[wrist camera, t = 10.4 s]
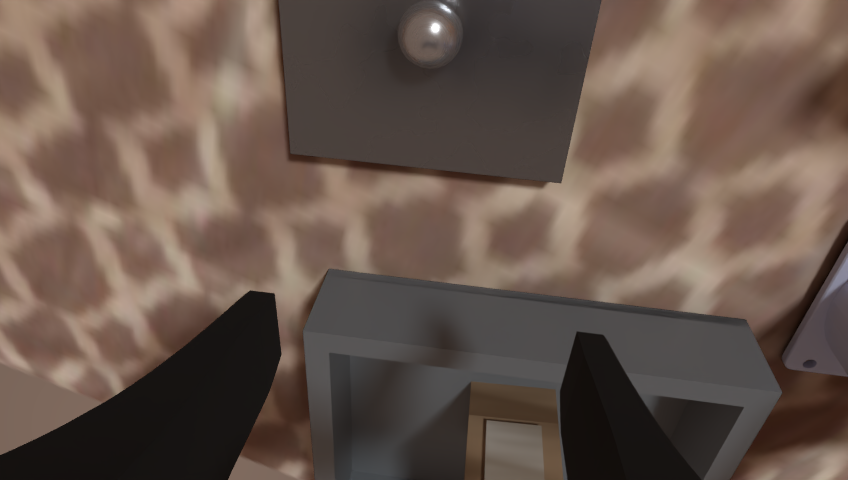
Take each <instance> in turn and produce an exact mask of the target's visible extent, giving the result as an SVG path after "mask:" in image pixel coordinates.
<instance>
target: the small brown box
mask: <svg viewBox="0 0 848 480" xmlns="http://www.w3.org/2000/svg"><path fill="white" fill-rule="evenodd" d="M464 480H563V470H562V458H561V447H560V435H559V424H558V412H557V401H556V389H546V388H536V387H525V386H515V385H504V384H494V383H483V382H472V381H471V390H470V404H469V417H468V430H467V444H466V459H465V473H464Z"/></svg>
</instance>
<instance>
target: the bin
mask: <svg viewBox="0 0 848 480" xmlns="http://www.w3.org/2000/svg"><path fill="white" fill-rule="evenodd" d="M577 331H578V332H586V333H594V334H602V335H604V336H605V337H606V339H607V340H608V342H609V344H610V346H611V348H612V349H613V351H614V353H615V355H616V357H617V358H618V360H619V362H620V364H621V365H622V367H623V369H624V371H625V372H626V374H627V376H628V377H629V379H630V381H631V382H632V384H633V386H634V387H635V389H636V390H637V392H638V394H639V395H640V397H641V398H642V400H643V401H644V403H645V404H646V406H647V407H648V409H649V410H650V412H651V414H652V415H653V417H654V418H655V419H656V421H657V422H658V424H659V425H660V427H661V428H662V429H663V431H664V432H665V434H666V435H667V436H668V438H669V439H670V440H671V442H672V443H673V445H674V446H675V447H676V449H677V450H678V451H679V452H680V454H681V455H682V456H683V458H684V459H685V460H686V461H687V463H688V464H689V465H690V466H691V468H692V469H693V470H694V471H695V472H696V474H697V475H698V476H699V477H700V478H701V479H702V480H730V478H731V477H732V475H733V473H734V472H735V470H736V468H737V467H738V465H739V463H740V462H741V460H742V458H743V457H744V455H745V454H746V452H747V450H748V449H749V447H750V445H751V444H752V442H753V440H754V439H755V437H756V435H757V434H758V432H759V431H760V429H761V427H762V426H763V424H764V422H765V421H766V419H767V417H768V416H769V414H770V412H771V411H772V409H773V407H774V406H775V404H776V403H777V401H778V399H779V398H780V396H781V394H782V391H781V389H780V387H779V385H778V383H777V381H776V379H775V377H774V375H773V373H772V371H771V369H770V367H769V365H768V363H767V361H766V359H765V357H764V355H763V353H762V351H761V349H760V347H759V345H758V343H757V341H756V339H755V337H754V335H753V333H752V331H751V329H750V327H749V325H748V323H747V321H746V320H745V319H737V318H729V317H720V316H712V315H704V314H696V313H687V312H679V311H671V310H663V309H655V308H646V307H638V306H630V305H622V304H614V303H605V302H597V301H589V300H581V299H573V298H564V297H556V296H548V295H540V294H531V293H523V292H515V291H507V290H499V289H490V288H482V287H474V286H466V285H458V284H449V283H441V282H433V281H425V280H416V279H408V278H400V277H392V276H384V275H375V274H367V273H359V272H351V271H343V270H334V269H329V270H328V272H327V275H326V277H325V279H324V282H323V284H322V287H321V289H320V291H319V294H318V296H317V298H316V301H315V303H314V306H313V308H312V310H311V313H310V315H309V317H308V320H307V322H306V324H305V327H304V329H303V339H304V351H305V364H306V377H307V389H308V402H309V414H310V427H311V439H312V452H313V464H314V477H315V480H464V473H465V459H466V444H467V430H468V417H469V404H470V390H471V381H472V382H483V383H494V384H504V385H515V386H525V387H536V388H546V389H556V401H557V412H558V424H559V435H560V447H561V458H562V470H563V480H567V473H566V467H565V460H564V452H563V445H562V438H561V426H560V389H561V385H562V382H563V378H564V374H565V371H566V367H567V364H568V360H569V357H570V353H571V350H572V346H573V343H574V339H575V336H576V332H577Z"/></svg>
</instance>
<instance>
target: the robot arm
mask: <svg viewBox="0 0 848 480" xmlns="http://www.w3.org/2000/svg"><path fill="white" fill-rule="evenodd" d="M280 357H281V346H280V337H279V329H278V320H277V311H276V302H275V294H274V293H266V292H258V291H249V292H248V293H246V294H245V295H244V296H243V297H242V298H240V299H239V300H238V301H237V302H236V303H235V304H233V305H232V306H231V307H230V308H229V309H228V310H227V311H225V312H224V313H223V314H222V315H221V316H220V317H219V318H217V319H216V320H215V321H214V322H213V323H212V324H210V325H209V326H208V327H207V328H206V329H205V330H203V331H202V332H201V333H200V334H199V335H197V336H196V337H195V338H194V339H193V340H191V341H190V342H189V343H188V344H186V345H185V346H184V347H183V348H182V349H180V350H179V351H178V352H176V353H175V354H174V355H172V356H171V357H170V358H168V359H167V360H166V361H164V362H163V363H162V364H161V365H159V366H158V367H157V368H155V369H154V370H153V371H151V372H150V373H148V374H147V375H146V376H144V377H143V378H141V379H140V380H138V381H137V382H135V383H134V384H133V385H131V386H130V387H128V388H126V389H125V390H123V391H122V392H120V393H119V394H117V395H115V396H114V397H112V398H111V399H109V400H107V401H106V402H104V403H102V404H101V405H99V406H97V407H95V408H93V409H92V410H90V411H88V412H86V413H84V414H83V415H81V416H79V417H77V418H75V419H74V420H72V421H70V422H68V423H66V424H65V425H63V426H61V427H59V428H57V429H55V430H53V431H51V432H49V433H47V434H45V435H43V436H41V437H39V438H37V439H35V440H33V441H30V442H28V443H26V444H24V445H22V446H20V447H18V448H16V449H13V450H11V451H9V452H7V453H4V454H2V455H0V480H228V478H229V476H230V474H231V471H232V469H233V467H234V465H235V463H236V461H237V459H238V457H239V455H240V453H241V451H242V449H243V446H244V444H245V442H246V440H247V438H248V436H249V434H250V432H251V430H252V428H253V426H254V423H255V421H256V419H257V417H258V415H259V413H260V411H261V409H262V406H263V404H264V402H265V400H266V398H267V396H268V393H269V391H270V388H271V385H272V382H273V379H274V376H275V373H276V370H277V367H278V364H279V361H280ZM807 360H809V361H807ZM782 361H783V363H784V365H785V367H787V368H788V369H791V370H798V371H806V372H814V373H822V374H830V375H837V376H845V377H848V242H847V244H846V246H845V247H844V249H843V251H842V252H841V254H840V256H839V258H838V259H837V261H836V263H835V265H834V266H833V268H832V270H831V272H830V273H829V275H828V277H827V279H826V280H825V282H824V284H823V285H822V287H821V289H820V291H819V292H818V294H817V296H816V298H815V299H814V301H813V303H812V305H811V306H810V308H809V310H808V311H807V313H806V315H805V317H804V318H803V320H802V322H801V324H800V325H799V327H798V329H797V331H796V332H795V334H794V336H793V338H792V339H791V341H790V343H789V344H788V346H787V348H786V350H785V351H784V353H783V355H782ZM805 361H806V362H805ZM560 426H561V438H562V445H563V452H564V460H565V467H566V473H567V480H702V479H701V478H700V477H699V476H698V475H697V474H696V472H695V471H694V470H693V469H692V468H691V466H690V465H689V464H688V463H687V461H686V460H685V459H684V458H683V456H682V455H681V454H680V452H679V451H678V450H677V449H676V447H675V446H674V445H673V443H672V442H671V440H670V439H669V438H668V436H667V435H666V434H665V432H664V431H663V429H662V428H661V427H660V425H659V424H658V422H657V421H656V419H655V418H654V417H653V415H652V414H651V412H650V410H649V409H648V407H647V406H646V404H645V403H644V401H643V400H642V398H641V397H640V395H639V394H638V392H637V390H636V389H635V387H634V386H633V384H632V382H631V381H630V379H629V377H628V376H627V374H626V372H625V371H624V369H623V367H622V365H621V364H620V362H619V360H618V358H617V357H616V355H615V353H614V351H613V349H612V348H611V346H610V344H609V342H608V340H607V339H606V337H605V336H604V335H602V334H594V333H586V332H578V331H577V332H576V336H575V339H574V343H573V346H572V350H571V353H570V357H569V360H568V364H567V367H566V371H565V374H564V378H563V382H562V385H561V389H560Z"/></svg>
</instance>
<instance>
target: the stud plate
mask: <svg viewBox="0 0 848 480" xmlns="http://www.w3.org/2000/svg"><path fill="white" fill-rule="evenodd" d="M600 4H601V0H279V12H280V25H281V38H282V51H283V64H284V77H285V90H286V102H287V115H288V128H289V141H290V154H298V155H307V156H316V157H325V158H335V159H344V160H353V161H362V162H371V163H380V164H389V165H399V166H408V167H417V168H426V169H435V170H444V171H454V172H463V173H472V174H481V175H490V176H499V177H508V178H518V179H527V180H536V181H545V182H554V183H561V182H562V177H563V172H564V168H565V163H566V159H567V154H568V150H569V145H570V141H571V136H572V132H573V127H574V123H575V118H576V113H577V109H578V104H579V100H580V95H581V91H582V86H583V82H584V77H585V73H586V68H587V63H588V59H589V54H590V50H591V45H592V41H593V36H594V32H595V27H596V23H597V18H598V14H599V9H600Z"/></svg>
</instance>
